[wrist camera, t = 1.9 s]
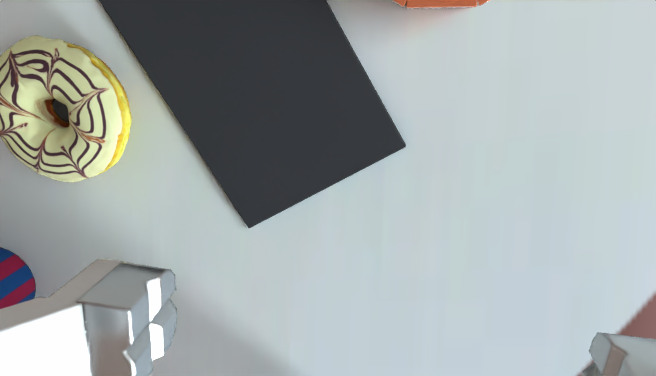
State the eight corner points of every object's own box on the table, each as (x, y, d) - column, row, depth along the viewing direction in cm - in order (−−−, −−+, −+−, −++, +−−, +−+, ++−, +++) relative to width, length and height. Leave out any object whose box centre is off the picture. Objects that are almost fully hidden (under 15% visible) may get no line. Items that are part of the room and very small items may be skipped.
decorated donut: (24, 13, 37) (-16, 12, 34) (155, 70, 37) (129, 76, 34) (3, 138, 41) (-35, 149, 37) (123, 190, 41) (96, 206, 37)
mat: (405, 145, 36) (406, 146, 36) (250, 225, 40) (248, 228, 40) (259, -121, 32) (256, -124, 32) (102, -2, 36) (97, -2, 36)
